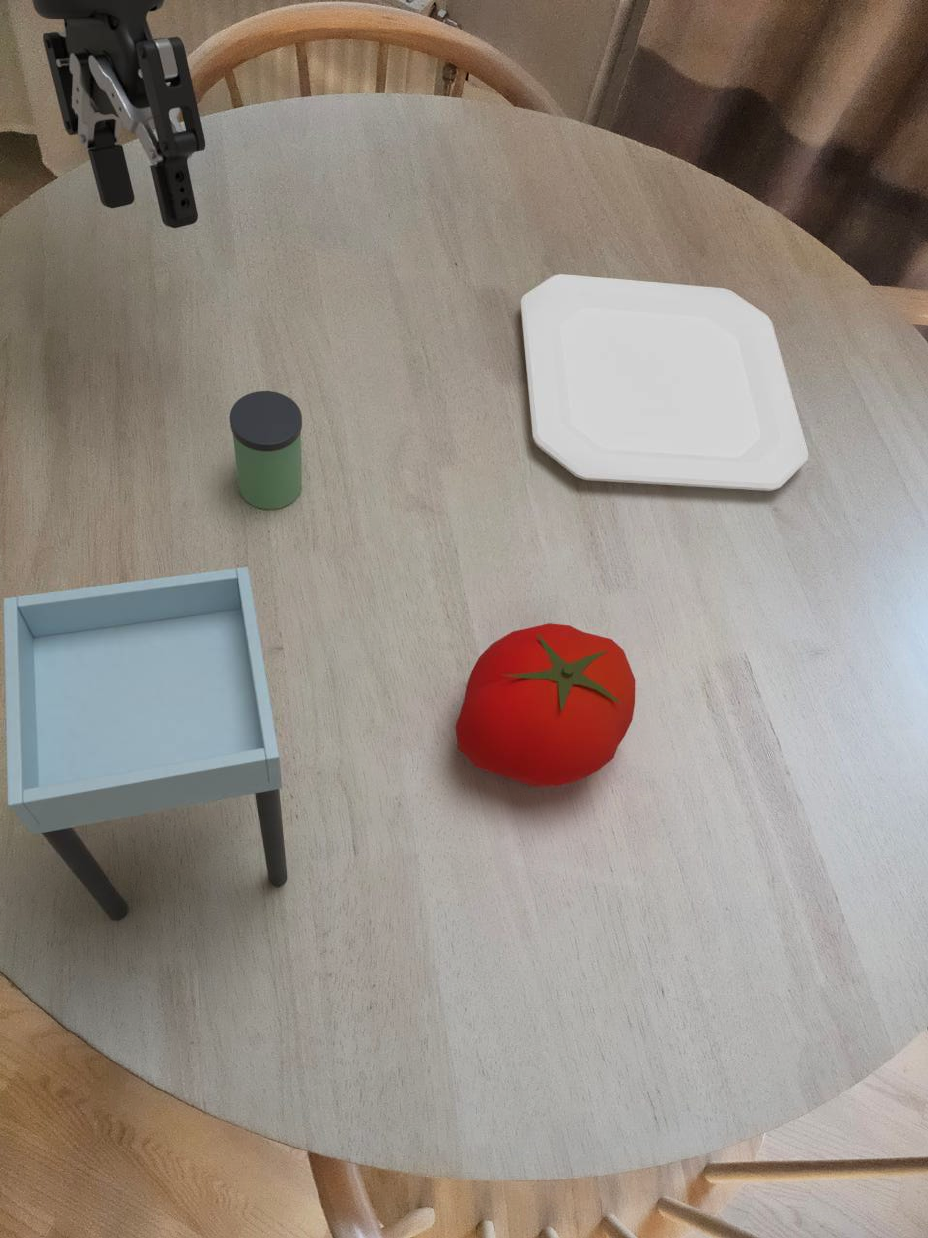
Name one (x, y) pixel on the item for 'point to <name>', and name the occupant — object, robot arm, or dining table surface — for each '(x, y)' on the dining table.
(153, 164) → the robot arm
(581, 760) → the tomato
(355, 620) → the dining table surface
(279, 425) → the plastic tub
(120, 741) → the tray
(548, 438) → the plate
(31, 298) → the dining table surface
